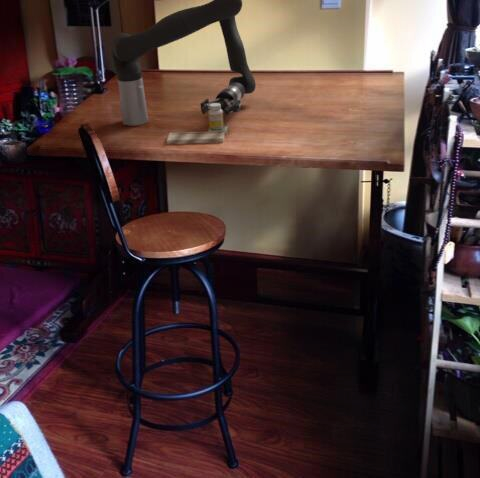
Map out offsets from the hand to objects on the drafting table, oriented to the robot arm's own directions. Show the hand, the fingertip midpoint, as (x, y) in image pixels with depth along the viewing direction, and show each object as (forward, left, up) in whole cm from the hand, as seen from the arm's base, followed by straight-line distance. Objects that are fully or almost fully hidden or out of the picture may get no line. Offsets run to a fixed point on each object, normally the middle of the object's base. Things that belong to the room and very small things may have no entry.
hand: (214, 112), depth 225 cm
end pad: (0, +2, -8) cm, 8 cm away
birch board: (-7, -6, -8) cm, 12 cm away
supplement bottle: (0, +2, -8) cm, 8 cm away
